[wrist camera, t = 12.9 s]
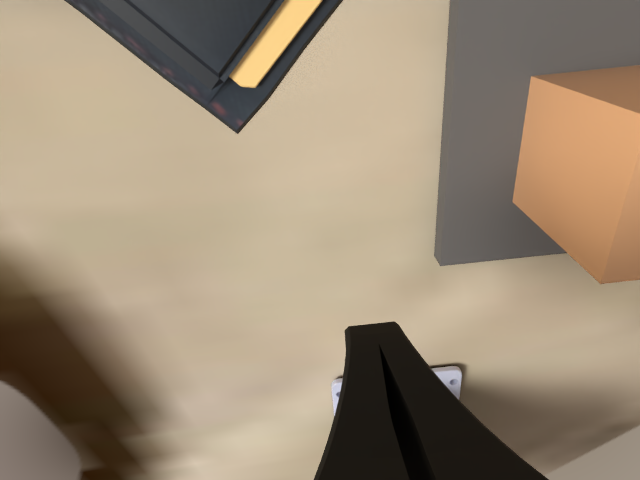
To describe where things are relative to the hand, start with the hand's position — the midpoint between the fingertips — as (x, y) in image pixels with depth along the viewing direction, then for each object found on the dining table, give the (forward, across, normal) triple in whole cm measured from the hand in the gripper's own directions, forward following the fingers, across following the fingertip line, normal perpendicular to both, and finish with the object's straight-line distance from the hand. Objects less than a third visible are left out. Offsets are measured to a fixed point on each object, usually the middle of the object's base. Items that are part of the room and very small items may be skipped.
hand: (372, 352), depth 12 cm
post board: (+10, -11, -2) cm, 15 cm away
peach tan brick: (+9, -11, -2) cm, 15 cm away
